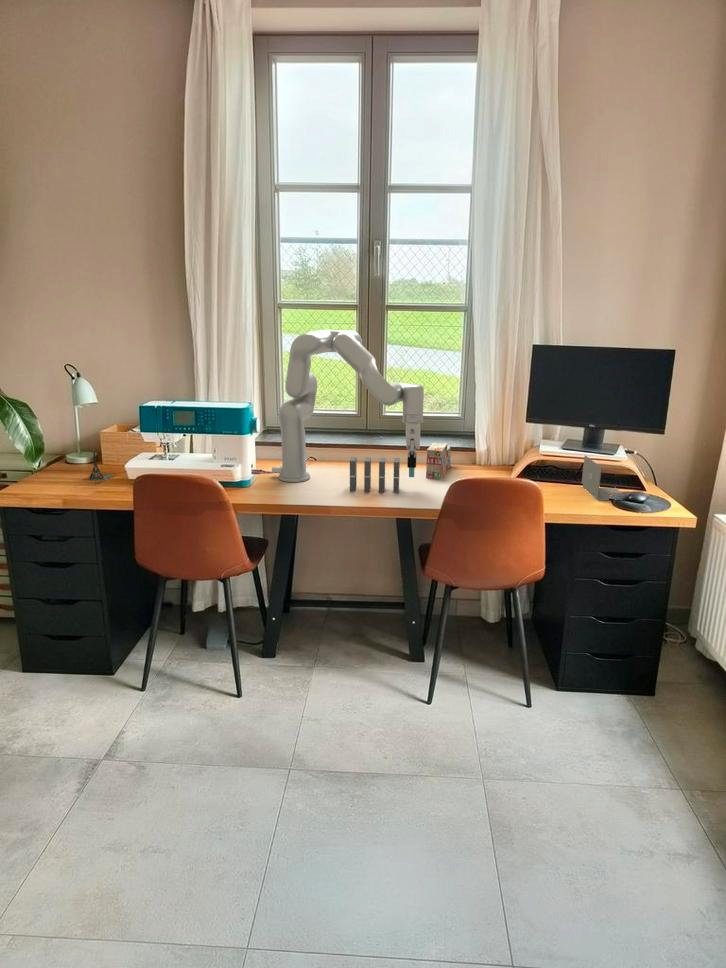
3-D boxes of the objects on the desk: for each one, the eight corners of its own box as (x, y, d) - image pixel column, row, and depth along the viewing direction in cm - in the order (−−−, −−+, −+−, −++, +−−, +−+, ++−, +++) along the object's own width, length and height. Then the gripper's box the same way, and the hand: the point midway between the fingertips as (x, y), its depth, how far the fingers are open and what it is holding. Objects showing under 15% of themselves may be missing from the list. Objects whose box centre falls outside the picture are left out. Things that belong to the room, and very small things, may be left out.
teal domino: (414, 472, 253) (414, 442, 250) (414, 477, 248) (414, 446, 244) (409, 472, 253) (409, 442, 250) (408, 477, 248) (409, 446, 244)
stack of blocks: (436, 465, 288) (437, 437, 285) (450, 466, 287) (451, 438, 283) (425, 478, 269) (426, 449, 265) (441, 479, 267) (442, 450, 264)
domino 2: (364, 491, 251) (364, 461, 247) (365, 487, 257) (365, 457, 253) (369, 492, 251) (369, 461, 247) (370, 487, 257) (371, 457, 253)
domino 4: (393, 492, 250) (393, 462, 247) (393, 488, 256) (394, 458, 252) (398, 492, 250) (399, 462, 246) (399, 488, 256) (399, 458, 252)
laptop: (630, 501, 243) (635, 467, 239) (596, 501, 243) (600, 467, 239) (612, 487, 260) (616, 454, 256) (580, 486, 260) (584, 454, 256)
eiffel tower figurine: (98, 485, 258) (94, 452, 254) (75, 484, 260) (70, 451, 256) (119, 475, 272) (116, 443, 268) (97, 473, 274) (93, 442, 270)
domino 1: (349, 491, 251) (349, 460, 248) (351, 486, 257) (351, 456, 254) (355, 491, 251) (355, 461, 248) (356, 486, 257) (356, 456, 253)
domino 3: (378, 492, 251) (379, 461, 247) (379, 487, 256) (380, 457, 253) (384, 492, 250) (384, 461, 247) (384, 487, 256) (385, 457, 253)
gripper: (423, 422, 236) (421, 471, 241) (422, 413, 252) (421, 459, 257) (401, 422, 236) (401, 471, 241) (403, 413, 253) (402, 459, 258)
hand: (411, 464), depth 249 cm, fingers closed on teal domino, 6 cm apart
